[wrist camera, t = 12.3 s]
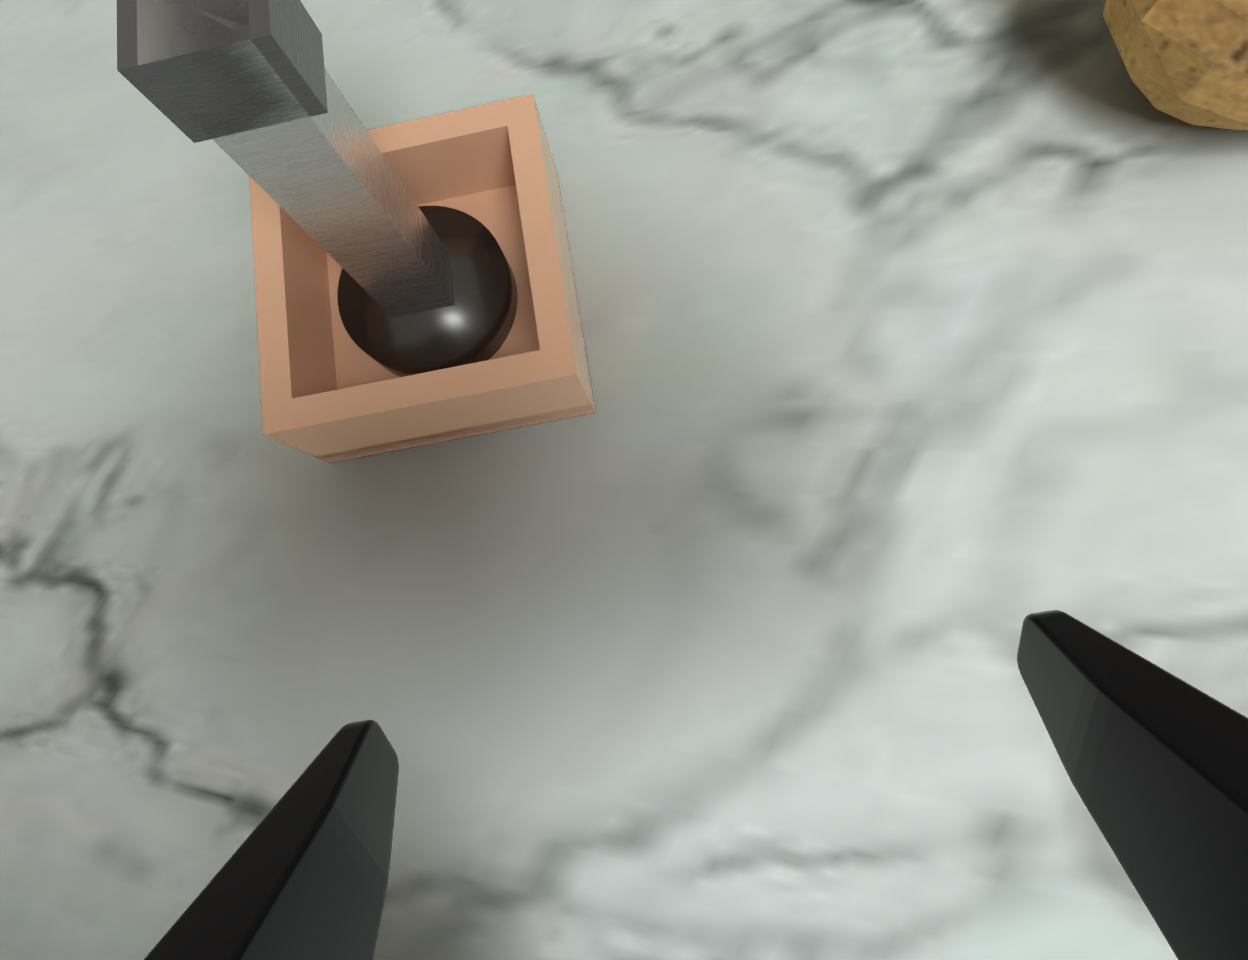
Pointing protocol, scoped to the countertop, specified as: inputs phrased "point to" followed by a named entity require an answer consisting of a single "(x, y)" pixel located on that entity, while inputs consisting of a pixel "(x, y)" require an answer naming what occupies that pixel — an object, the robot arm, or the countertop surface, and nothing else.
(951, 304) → the countertop surface
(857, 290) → the countertop surface
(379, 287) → the grey stamp
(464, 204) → the peach square open box
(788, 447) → the countertop surface
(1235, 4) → the potato
